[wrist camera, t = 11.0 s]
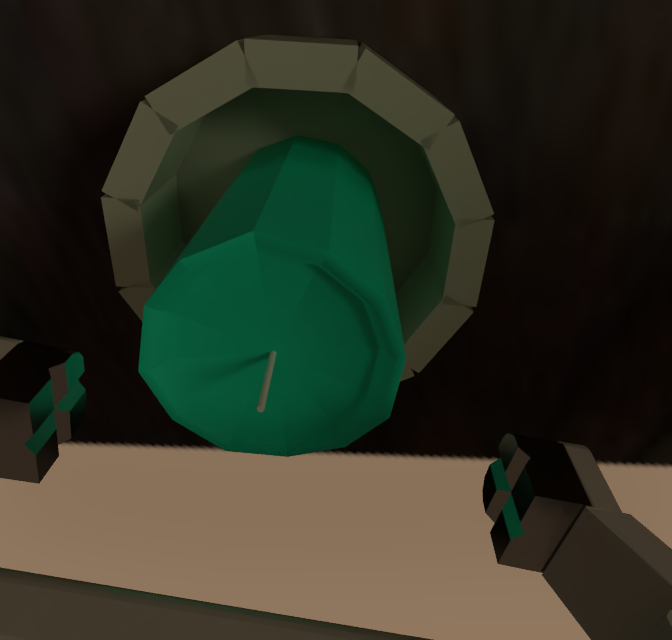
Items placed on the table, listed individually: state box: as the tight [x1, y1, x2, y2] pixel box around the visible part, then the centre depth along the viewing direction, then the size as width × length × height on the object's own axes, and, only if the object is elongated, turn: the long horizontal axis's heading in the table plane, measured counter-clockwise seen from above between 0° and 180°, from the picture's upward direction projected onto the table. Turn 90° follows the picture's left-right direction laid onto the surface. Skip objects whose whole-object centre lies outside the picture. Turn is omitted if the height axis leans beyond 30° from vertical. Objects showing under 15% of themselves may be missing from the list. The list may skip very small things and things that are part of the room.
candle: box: [138, 135, 406, 457], centre depth 16 cm, size 6×6×12 cm
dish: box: [101, 35, 495, 381], centre depth 19 cm, size 12×12×5 cm
